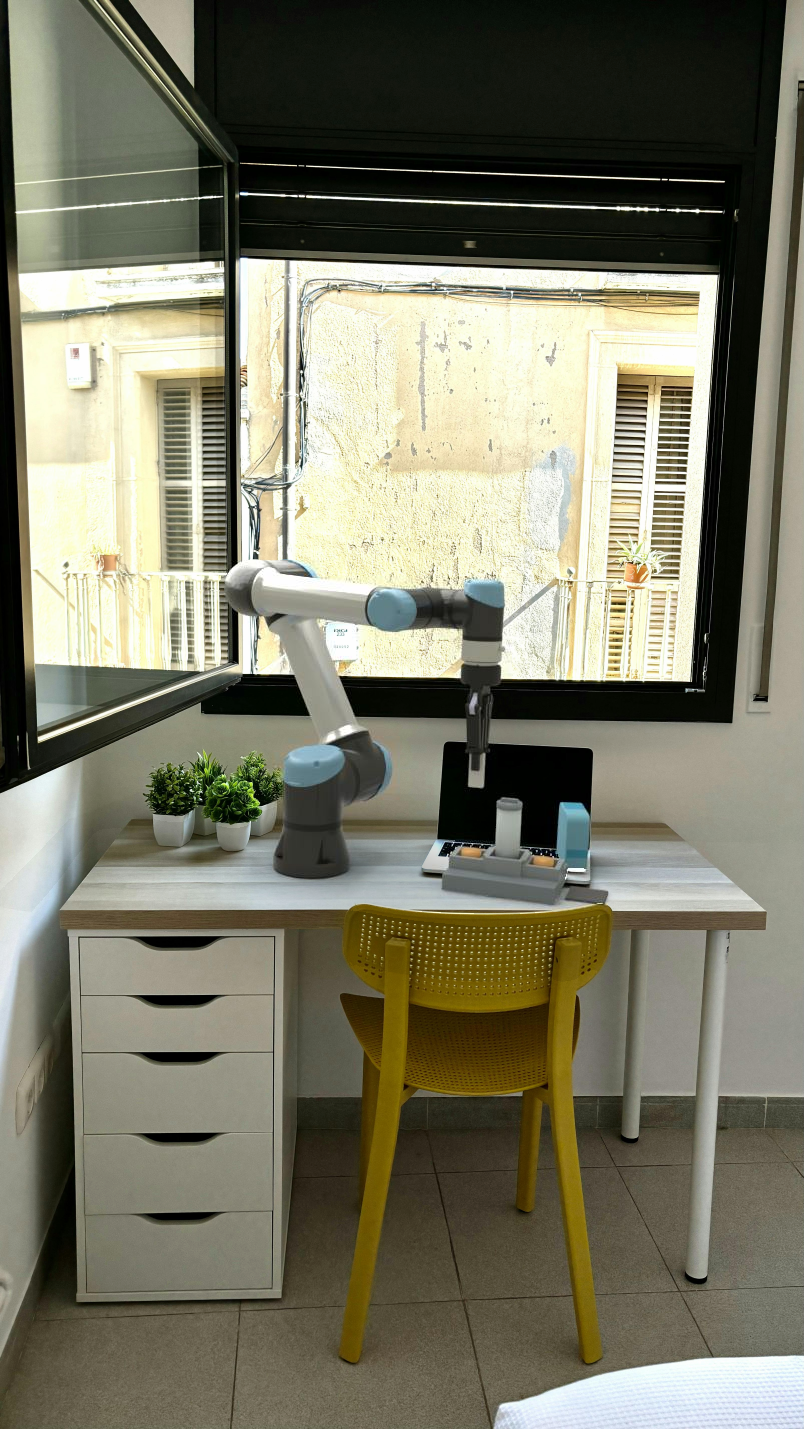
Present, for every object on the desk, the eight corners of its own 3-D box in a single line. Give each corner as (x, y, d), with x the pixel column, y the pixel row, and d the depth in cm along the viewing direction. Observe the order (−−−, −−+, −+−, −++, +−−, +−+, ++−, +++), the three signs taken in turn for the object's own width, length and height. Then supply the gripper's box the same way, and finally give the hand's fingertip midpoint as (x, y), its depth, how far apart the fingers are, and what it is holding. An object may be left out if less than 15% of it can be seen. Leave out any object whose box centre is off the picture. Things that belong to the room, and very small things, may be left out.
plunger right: (531, 873, 184) (531, 860, 184) (534, 867, 188) (535, 855, 187) (551, 876, 183) (552, 863, 183) (554, 870, 187) (555, 857, 186)
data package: (586, 875, 195) (590, 816, 193) (563, 874, 195) (567, 815, 193) (577, 856, 207) (581, 801, 205) (556, 855, 207) (559, 800, 205)
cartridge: (491, 870, 186) (494, 800, 184) (496, 863, 190) (500, 794, 188) (516, 873, 184) (519, 802, 182) (521, 866, 189) (524, 797, 187)
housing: (441, 889, 184) (442, 858, 183) (462, 864, 199) (464, 836, 198) (553, 904, 177) (555, 872, 176) (566, 878, 192) (568, 848, 191)
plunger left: (458, 864, 188) (459, 851, 188) (463, 858, 192) (464, 846, 191) (478, 866, 187) (478, 854, 187) (482, 861, 191) (483, 848, 190)
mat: (564, 899, 180) (565, 897, 180) (570, 888, 187) (570, 886, 187) (603, 905, 178) (603, 903, 178) (607, 893, 185) (608, 890, 185)
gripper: (493, 667, 176) (487, 796, 180) (508, 661, 188) (502, 781, 192) (452, 665, 178) (447, 791, 182) (470, 658, 191) (465, 777, 194)
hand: (476, 786), depth 187 cm, fingers closed
